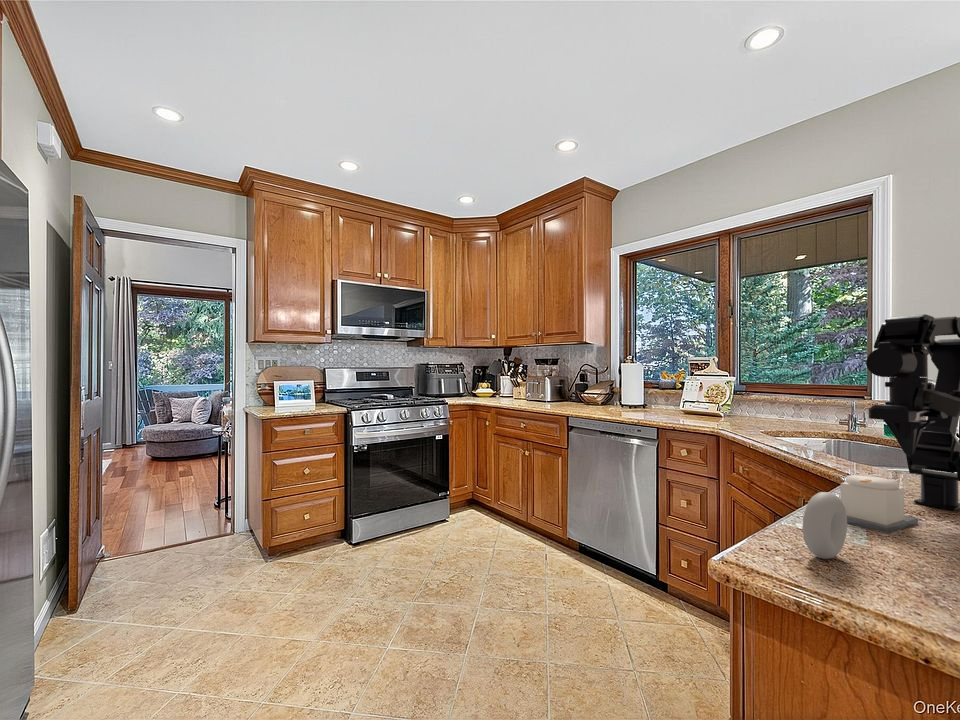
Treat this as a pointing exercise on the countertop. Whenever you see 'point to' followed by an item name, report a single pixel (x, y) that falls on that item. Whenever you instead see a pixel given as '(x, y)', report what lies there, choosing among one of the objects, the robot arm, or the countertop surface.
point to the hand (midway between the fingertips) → (909, 454)
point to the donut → (825, 525)
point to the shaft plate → (883, 528)
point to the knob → (873, 499)
